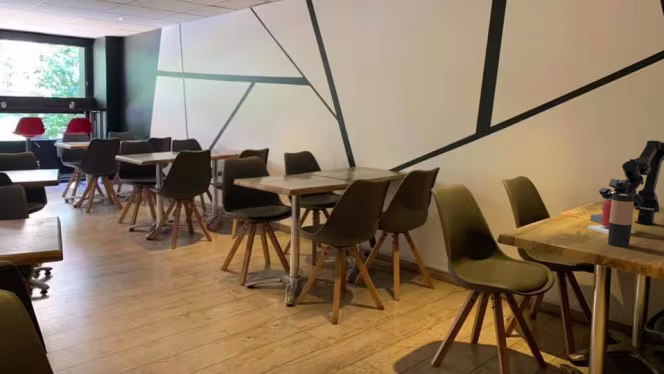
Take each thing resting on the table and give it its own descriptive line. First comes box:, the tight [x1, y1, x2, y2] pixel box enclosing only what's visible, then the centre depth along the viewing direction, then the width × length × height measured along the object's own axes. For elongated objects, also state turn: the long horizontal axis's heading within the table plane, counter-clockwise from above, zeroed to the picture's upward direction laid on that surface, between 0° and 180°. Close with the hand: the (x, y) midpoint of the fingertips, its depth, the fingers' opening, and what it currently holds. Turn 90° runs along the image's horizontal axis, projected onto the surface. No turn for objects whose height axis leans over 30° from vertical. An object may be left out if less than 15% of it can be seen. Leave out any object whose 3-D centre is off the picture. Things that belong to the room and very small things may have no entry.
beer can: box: [600, 198, 612, 227], centre depth 220 cm, size 7×7×12 cm
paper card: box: [587, 224, 636, 235], centre depth 221 cm, size 14×12×1 cm
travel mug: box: [607, 192, 635, 248], centre depth 195 cm, size 8×8×20 cm
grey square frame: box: [589, 213, 602, 224], centre depth 239 cm, size 9×9×3 cm
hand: (608, 211), depth 219 cm, fingers closed on beer can, 6 cm apart
